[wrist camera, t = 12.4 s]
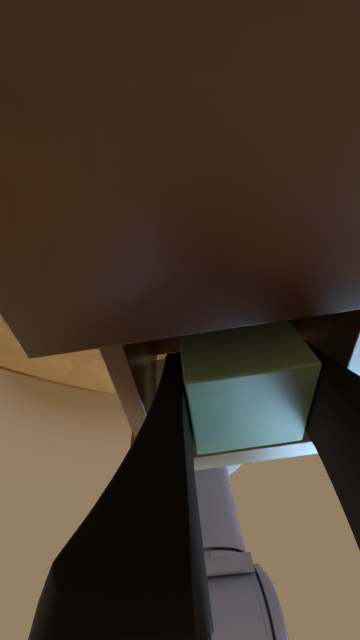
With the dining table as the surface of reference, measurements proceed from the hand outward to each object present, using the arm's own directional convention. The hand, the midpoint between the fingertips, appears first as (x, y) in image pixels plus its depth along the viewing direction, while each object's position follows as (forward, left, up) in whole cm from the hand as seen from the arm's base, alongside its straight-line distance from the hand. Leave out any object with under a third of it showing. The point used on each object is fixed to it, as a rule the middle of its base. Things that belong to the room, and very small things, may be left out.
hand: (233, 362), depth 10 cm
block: (0, 0, -1) cm, 1 cm away
